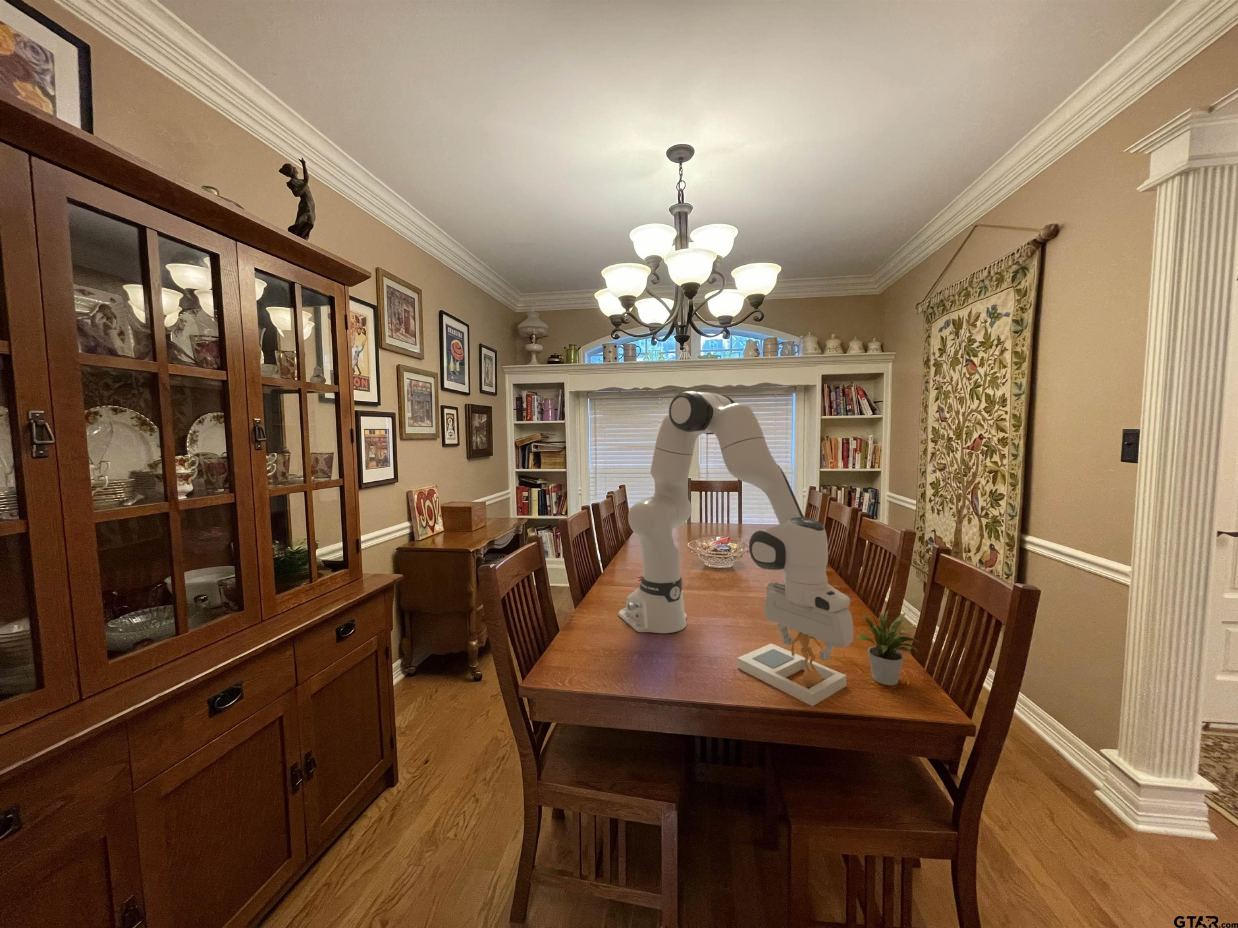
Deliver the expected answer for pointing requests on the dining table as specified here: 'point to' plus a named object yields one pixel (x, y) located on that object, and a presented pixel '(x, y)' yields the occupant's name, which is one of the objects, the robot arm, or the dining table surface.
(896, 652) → the house plant
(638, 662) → the dining table surface
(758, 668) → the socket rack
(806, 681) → the figurine
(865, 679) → the dining table surface
